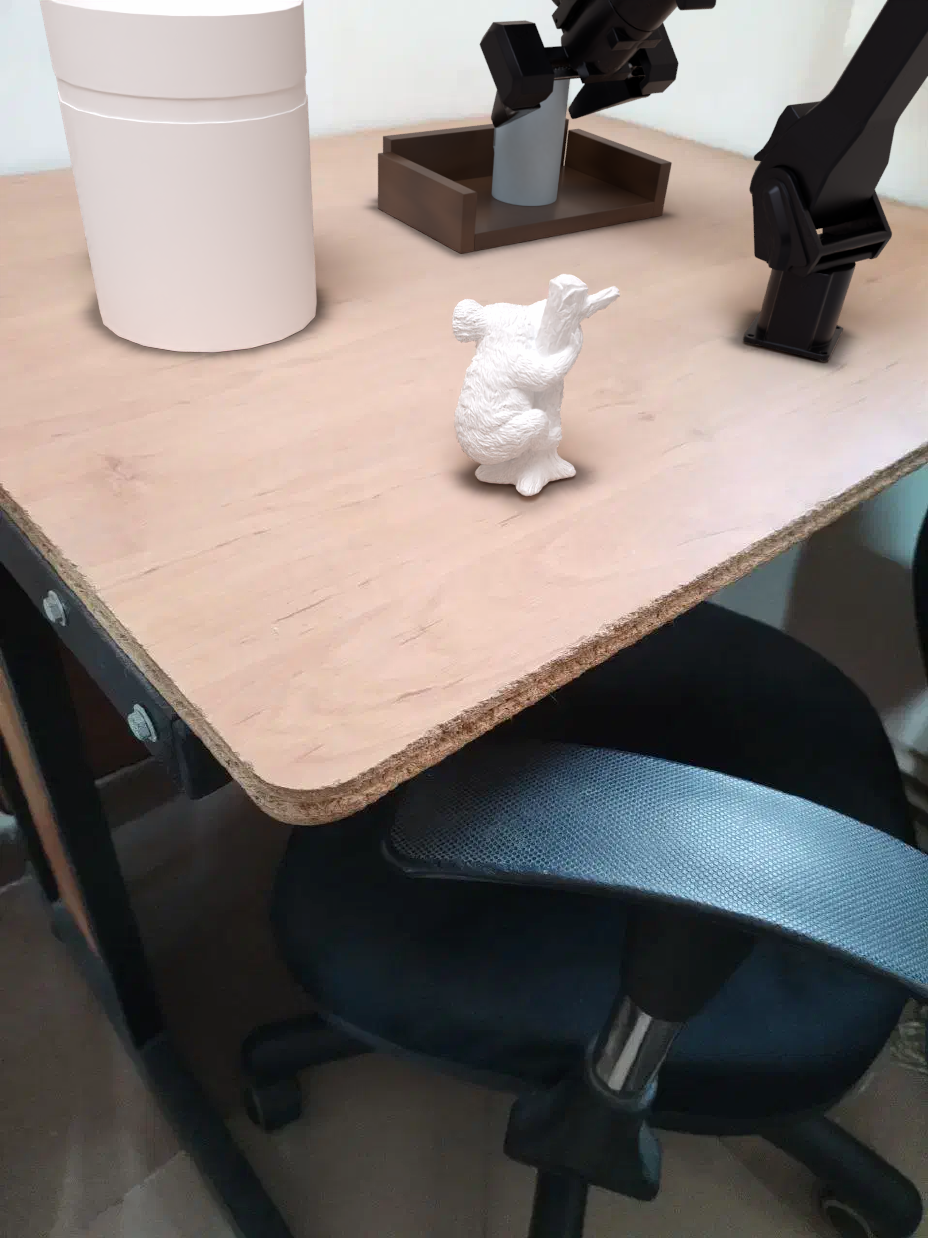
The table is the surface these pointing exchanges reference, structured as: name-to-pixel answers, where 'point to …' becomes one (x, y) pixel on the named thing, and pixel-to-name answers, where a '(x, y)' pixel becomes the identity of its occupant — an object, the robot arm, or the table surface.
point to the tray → (474, 220)
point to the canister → (190, 165)
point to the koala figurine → (521, 381)
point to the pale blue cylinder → (531, 153)
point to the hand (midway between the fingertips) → (533, 118)
